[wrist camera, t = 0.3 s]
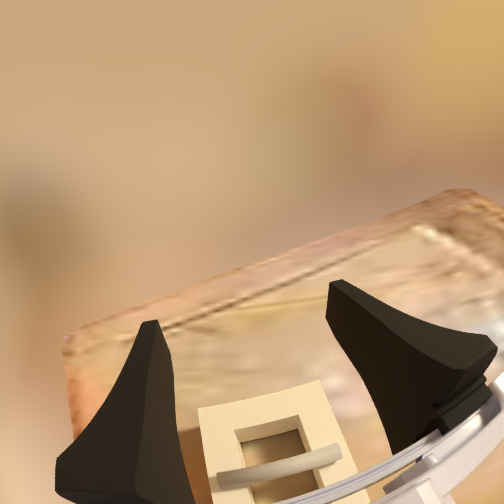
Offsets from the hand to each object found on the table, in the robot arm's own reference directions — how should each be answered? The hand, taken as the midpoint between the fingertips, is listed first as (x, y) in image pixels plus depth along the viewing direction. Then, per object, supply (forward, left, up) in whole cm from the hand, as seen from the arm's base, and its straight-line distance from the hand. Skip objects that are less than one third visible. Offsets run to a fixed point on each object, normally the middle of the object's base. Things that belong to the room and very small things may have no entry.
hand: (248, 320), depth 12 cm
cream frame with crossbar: (-3, 0, -21) cm, 21 cm away
